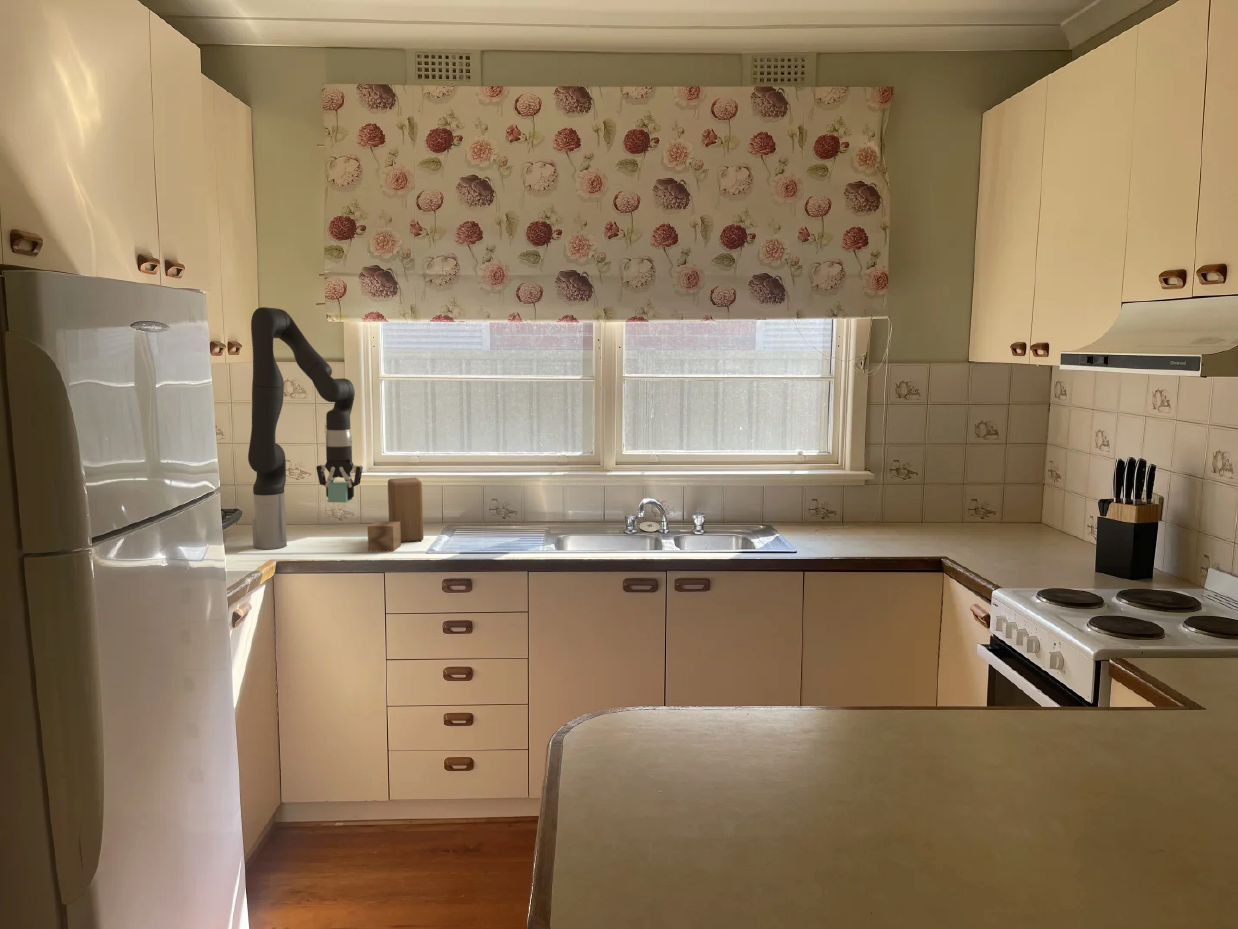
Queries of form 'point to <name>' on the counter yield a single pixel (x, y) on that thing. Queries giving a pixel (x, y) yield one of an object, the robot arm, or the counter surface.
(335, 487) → the teal cube
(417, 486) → the block
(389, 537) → the walnut block
